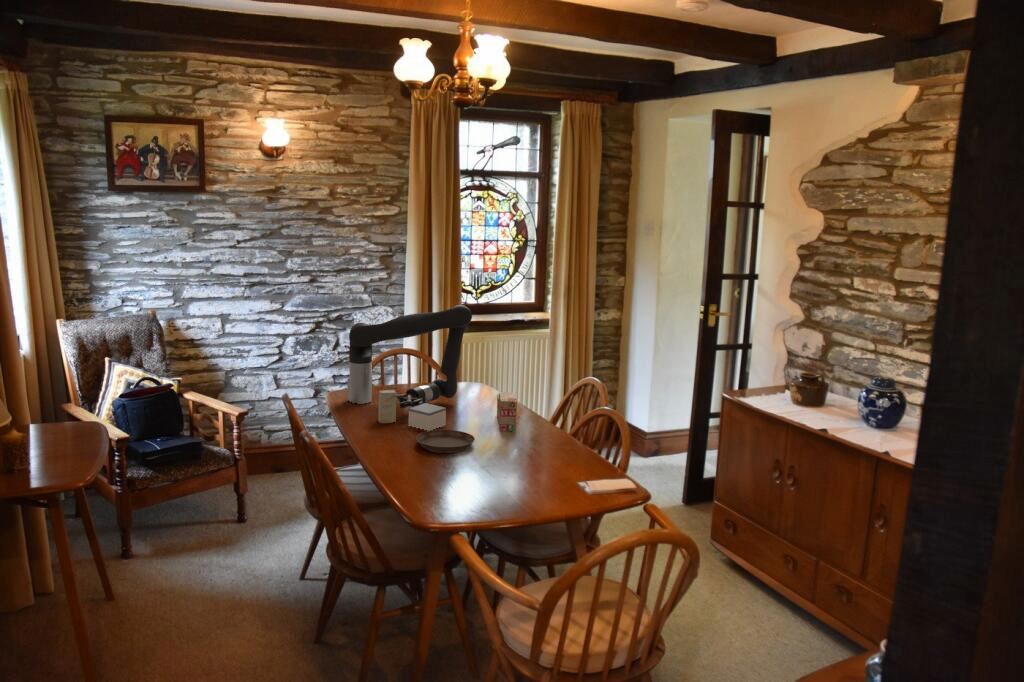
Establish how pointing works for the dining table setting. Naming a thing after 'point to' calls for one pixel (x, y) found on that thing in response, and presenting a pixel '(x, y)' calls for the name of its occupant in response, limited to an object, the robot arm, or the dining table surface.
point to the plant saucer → (445, 441)
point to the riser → (427, 416)
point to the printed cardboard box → (506, 411)
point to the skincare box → (387, 406)
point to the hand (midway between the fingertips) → (392, 403)
